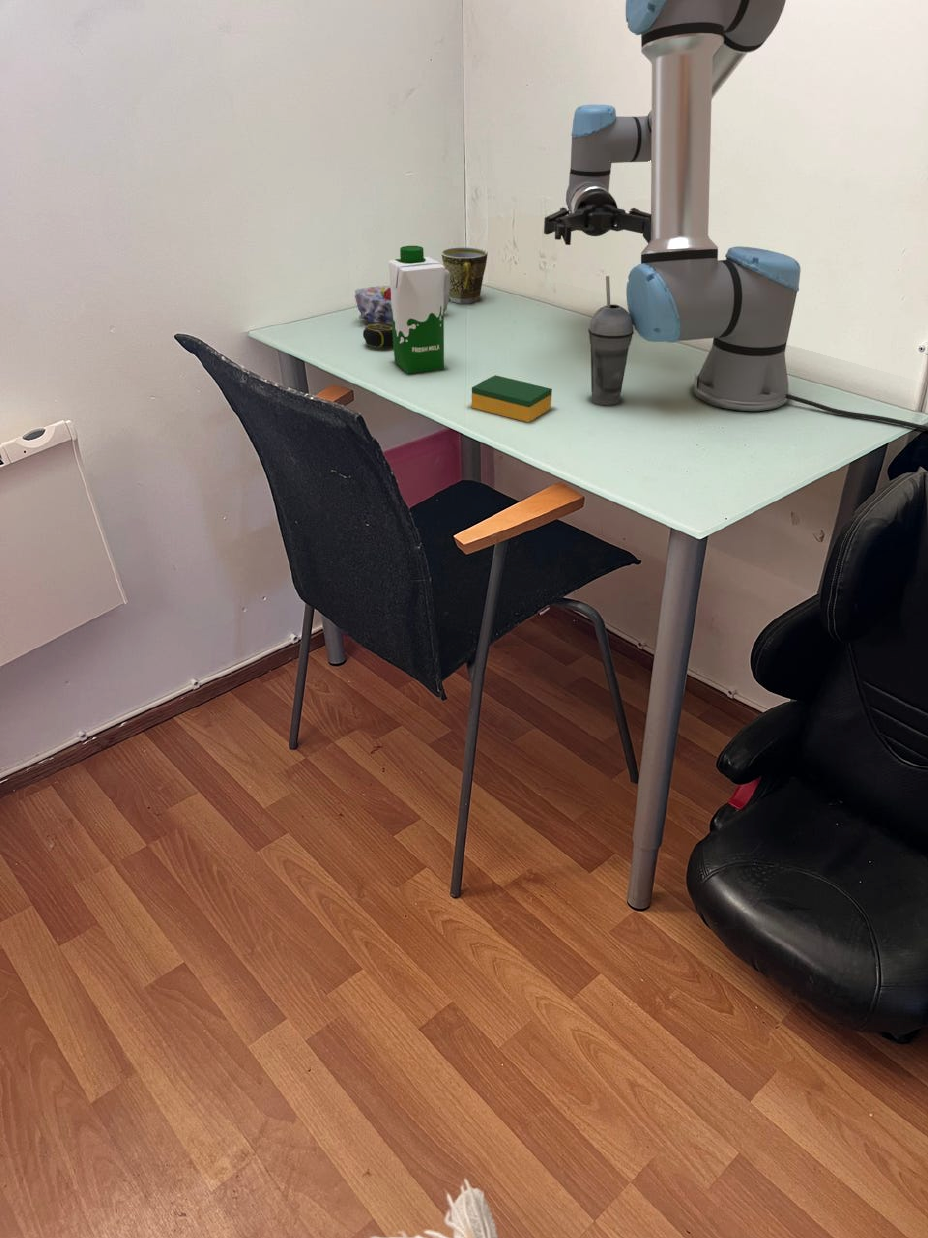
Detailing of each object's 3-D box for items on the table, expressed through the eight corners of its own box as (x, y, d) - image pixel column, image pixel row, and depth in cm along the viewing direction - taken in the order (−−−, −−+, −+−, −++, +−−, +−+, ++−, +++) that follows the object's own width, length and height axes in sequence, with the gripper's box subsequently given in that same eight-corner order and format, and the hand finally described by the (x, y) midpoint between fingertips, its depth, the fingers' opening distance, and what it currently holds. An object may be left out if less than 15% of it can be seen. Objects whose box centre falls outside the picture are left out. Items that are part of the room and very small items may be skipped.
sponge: (550, 409, 150) (552, 388, 148) (528, 422, 145) (529, 401, 143) (494, 394, 155) (495, 374, 153) (471, 407, 150) (471, 387, 148)
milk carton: (432, 355, 172) (430, 242, 161) (451, 370, 165) (450, 254, 154) (388, 361, 169) (383, 247, 158) (405, 377, 162) (401, 258, 151)
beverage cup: (626, 409, 150) (637, 283, 138) (581, 406, 151) (589, 281, 140) (628, 393, 156) (640, 271, 144) (585, 391, 157) (593, 269, 146)
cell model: (457, 261, 187) (389, 283, 175) (458, 314, 193) (392, 338, 181) (411, 250, 194) (342, 271, 182) (413, 302, 200) (347, 325, 188)
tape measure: (406, 343, 178) (405, 323, 176) (388, 353, 173) (387, 333, 171) (376, 338, 180) (375, 319, 178) (357, 348, 175) (356, 328, 173)
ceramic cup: (440, 293, 207) (439, 247, 201) (483, 292, 208) (484, 246, 202) (445, 310, 196) (445, 261, 191) (491, 309, 197) (492, 260, 192)
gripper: (660, 232, 168) (684, 260, 150) (524, 231, 167) (532, 260, 150) (665, 187, 163) (691, 211, 146) (526, 187, 163) (534, 210, 146)
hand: (610, 236), depth 148 cm, fingers open, 13 cm apart
